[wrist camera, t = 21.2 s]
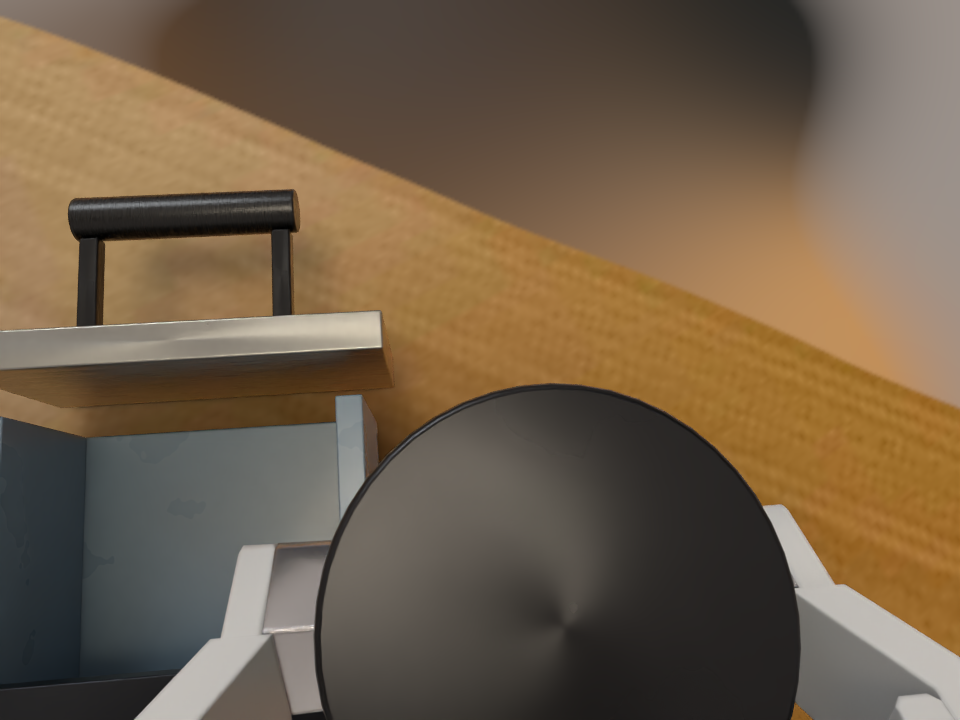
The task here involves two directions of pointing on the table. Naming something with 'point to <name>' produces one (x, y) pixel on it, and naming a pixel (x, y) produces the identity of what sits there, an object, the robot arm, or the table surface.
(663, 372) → the table surface
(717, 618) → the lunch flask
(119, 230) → the drawer with handle
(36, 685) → the drawer cabinet
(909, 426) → the table surface
